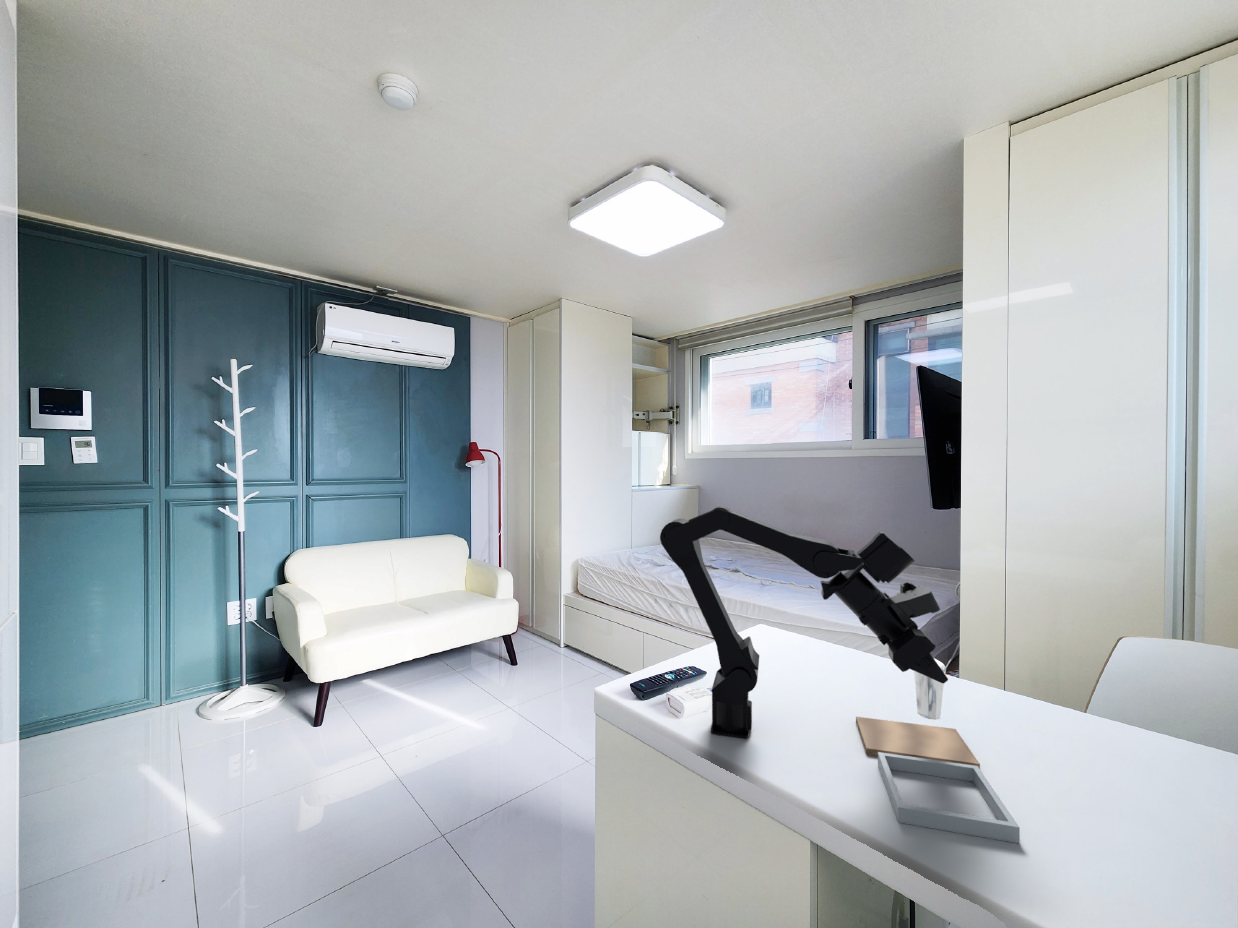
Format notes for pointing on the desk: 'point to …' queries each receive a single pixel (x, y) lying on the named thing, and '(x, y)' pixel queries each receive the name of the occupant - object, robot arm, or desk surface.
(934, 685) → the milkshake
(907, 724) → the board
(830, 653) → the desk surface
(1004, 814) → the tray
